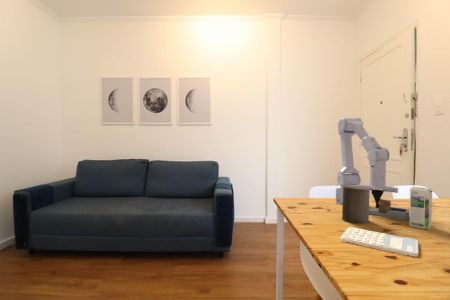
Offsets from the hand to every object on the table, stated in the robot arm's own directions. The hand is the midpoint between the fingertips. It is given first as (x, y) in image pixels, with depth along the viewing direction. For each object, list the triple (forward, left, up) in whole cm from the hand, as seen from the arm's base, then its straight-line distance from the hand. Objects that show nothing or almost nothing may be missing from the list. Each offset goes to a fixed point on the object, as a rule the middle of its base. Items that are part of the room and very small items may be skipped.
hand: (377, 207), depth 111 cm
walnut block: (+2, +1, -1) cm, 3 cm away
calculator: (+4, -35, -4) cm, 35 cm away
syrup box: (+15, -8, -4) cm, 17 cm away
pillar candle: (-6, -14, -4) cm, 16 cm away
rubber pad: (+2, +13, -3) cm, 13 cm away
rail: (+2, 0, -3) cm, 4 cm away
